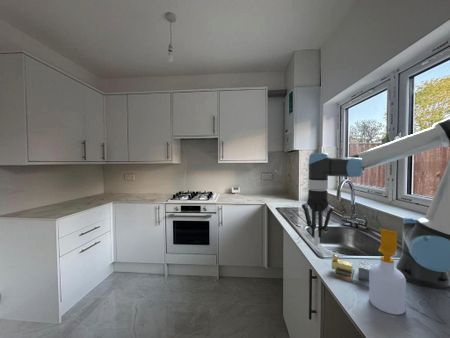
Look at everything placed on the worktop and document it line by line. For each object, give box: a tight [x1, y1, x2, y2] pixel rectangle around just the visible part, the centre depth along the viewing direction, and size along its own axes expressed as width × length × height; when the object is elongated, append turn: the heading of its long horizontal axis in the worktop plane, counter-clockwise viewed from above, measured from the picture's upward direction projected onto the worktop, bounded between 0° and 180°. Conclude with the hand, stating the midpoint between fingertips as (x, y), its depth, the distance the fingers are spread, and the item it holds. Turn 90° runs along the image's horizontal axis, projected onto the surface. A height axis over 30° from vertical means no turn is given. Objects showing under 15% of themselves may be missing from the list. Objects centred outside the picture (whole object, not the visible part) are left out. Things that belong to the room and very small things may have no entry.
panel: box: [334, 268, 369, 288], centre depth 82 cm, size 13×9×1 cm
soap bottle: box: [368, 227, 407, 316], centre depth 66 cm, size 9×9×25 cm
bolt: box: [331, 253, 353, 274], centre depth 85 cm, size 7×3×5 cm, turn 54°
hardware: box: [334, 260, 377, 282], centre depth 82 cm, size 13×7×5 cm, turn 54°
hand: (316, 244), depth 90 cm, fingers closed
